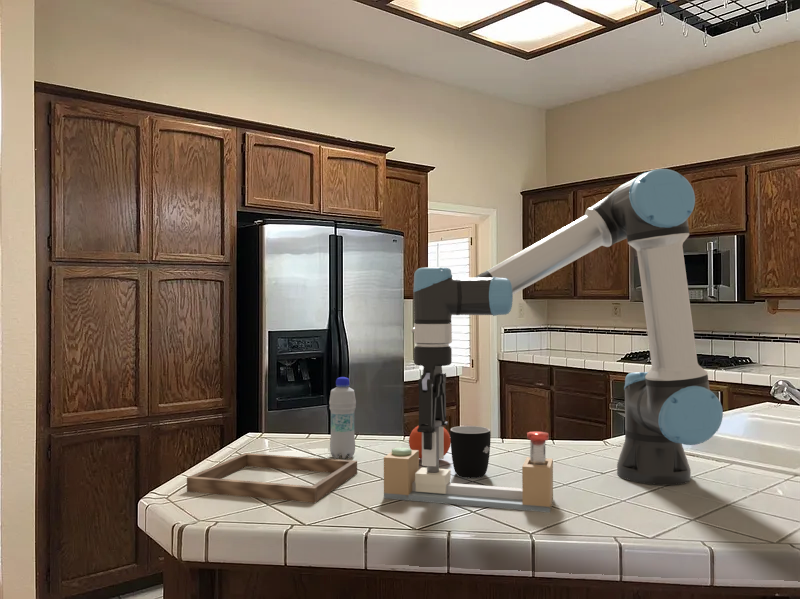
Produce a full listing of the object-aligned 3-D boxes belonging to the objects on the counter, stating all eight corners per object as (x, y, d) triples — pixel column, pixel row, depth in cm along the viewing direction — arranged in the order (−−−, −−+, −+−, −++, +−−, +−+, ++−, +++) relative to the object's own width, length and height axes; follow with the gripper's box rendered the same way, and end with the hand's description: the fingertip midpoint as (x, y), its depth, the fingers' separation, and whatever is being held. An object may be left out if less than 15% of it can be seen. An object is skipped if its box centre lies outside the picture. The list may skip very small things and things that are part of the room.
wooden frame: (357, 473, 150) (357, 460, 150) (314, 502, 128) (314, 488, 128) (245, 464, 158) (245, 453, 158) (186, 491, 136) (186, 477, 136)
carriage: (450, 487, 133) (450, 420, 133) (445, 494, 129) (444, 424, 129) (421, 485, 135) (421, 418, 135) (415, 491, 130) (415, 422, 130)
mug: (488, 481, 143) (487, 434, 143) (447, 478, 145) (446, 432, 145) (494, 468, 154) (494, 424, 155) (456, 465, 157) (456, 422, 157)
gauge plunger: (549, 479, 127) (549, 432, 127) (548, 484, 123) (547, 436, 124) (528, 477, 128) (528, 431, 129) (526, 482, 125) (526, 434, 125)
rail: (553, 499, 129) (552, 454, 129) (550, 512, 121) (549, 464, 121) (395, 487, 138) (395, 445, 138) (383, 498, 131) (383, 453, 131)
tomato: (459, 461, 161) (459, 420, 161) (425, 467, 155) (425, 425, 155) (433, 454, 169) (433, 414, 169) (400, 459, 163) (400, 418, 163)
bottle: (361, 455, 167) (361, 376, 168) (345, 461, 162) (345, 379, 162) (340, 452, 171) (340, 375, 171) (323, 457, 165) (323, 377, 165)
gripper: (426, 342, 142) (426, 450, 142) (401, 347, 124) (401, 471, 124) (460, 342, 140) (461, 452, 140) (440, 348, 122) (440, 474, 122)
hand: (433, 461), depth 132 cm, fingers open, 6 cm apart
